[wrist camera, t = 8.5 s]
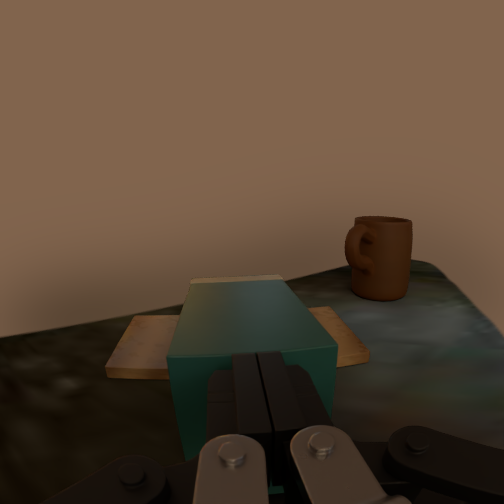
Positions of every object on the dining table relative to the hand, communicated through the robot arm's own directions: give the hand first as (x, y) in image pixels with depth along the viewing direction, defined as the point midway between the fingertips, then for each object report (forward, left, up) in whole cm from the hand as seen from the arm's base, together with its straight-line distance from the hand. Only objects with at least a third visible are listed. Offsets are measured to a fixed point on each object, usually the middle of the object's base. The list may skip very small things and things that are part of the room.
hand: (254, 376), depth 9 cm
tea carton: (0, +5, -3) cm, 6 cm away
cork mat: (0, +16, -7) cm, 17 cm away
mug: (+17, +25, -8) cm, 31 cm away
